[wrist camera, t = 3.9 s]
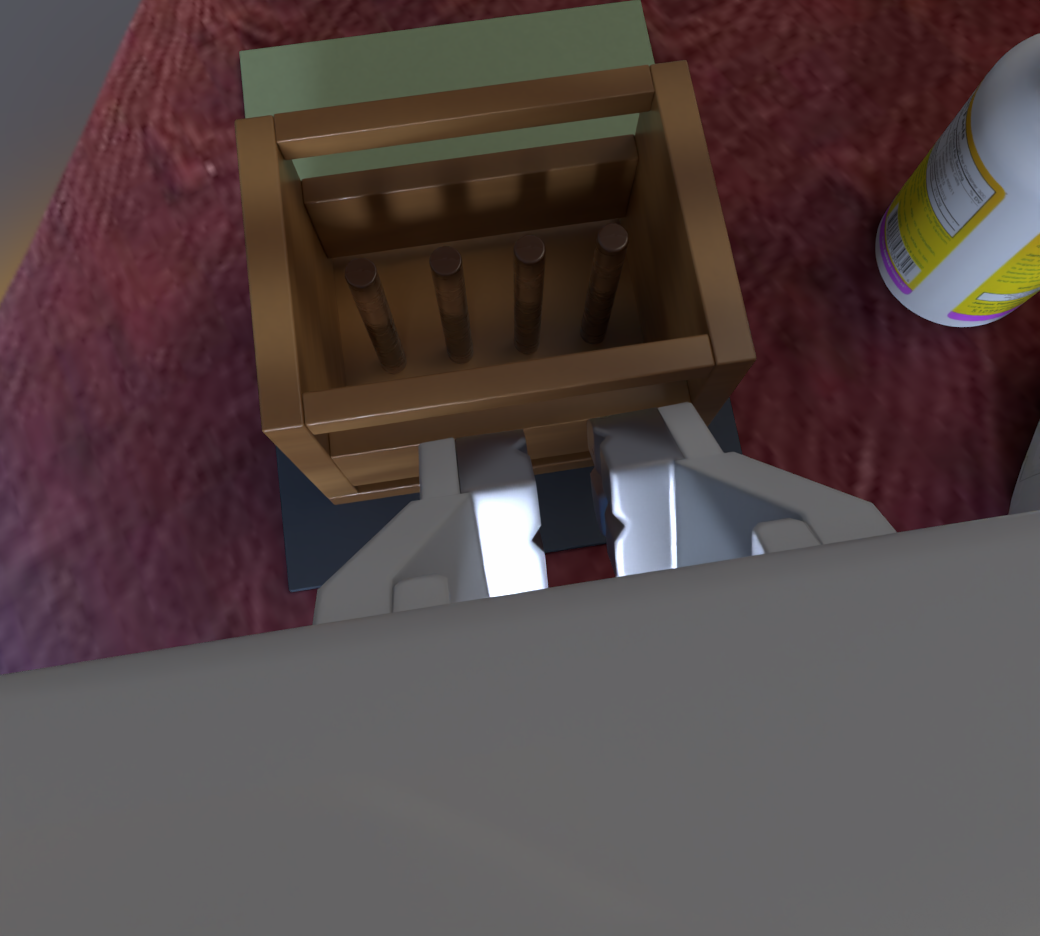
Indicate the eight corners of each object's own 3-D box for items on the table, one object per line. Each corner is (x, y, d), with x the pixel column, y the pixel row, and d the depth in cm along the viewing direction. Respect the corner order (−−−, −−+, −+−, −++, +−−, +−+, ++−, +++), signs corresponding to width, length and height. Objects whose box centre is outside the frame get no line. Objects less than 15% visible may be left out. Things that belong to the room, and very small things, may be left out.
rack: (690, 451, 35) (757, 359, 25) (333, 505, 34) (261, 432, 24) (642, 223, 37) (687, 58, 27) (308, 270, 37) (233, 118, 27)
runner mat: (754, 520, 34) (757, 518, 34) (291, 592, 34) (288, 591, 33) (639, 5, 40) (640, -1, 40) (241, 57, 40) (238, 50, 39)
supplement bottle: (1056, 245, 37) (1327, 22, 25) (977, 363, 36) (1221, 190, 24) (919, 160, 38) (1114, -96, 26) (837, 272, 37) (1001, 60, 25)
